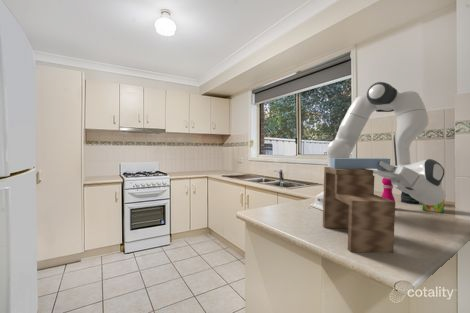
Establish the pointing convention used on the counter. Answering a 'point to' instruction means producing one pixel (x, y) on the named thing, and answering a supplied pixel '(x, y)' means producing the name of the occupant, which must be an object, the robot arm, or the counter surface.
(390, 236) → the step shelf
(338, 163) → the beam
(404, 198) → the storage jar
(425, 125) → the robot arm
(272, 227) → the counter surface
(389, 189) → the pepper mill
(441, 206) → the chalk box
